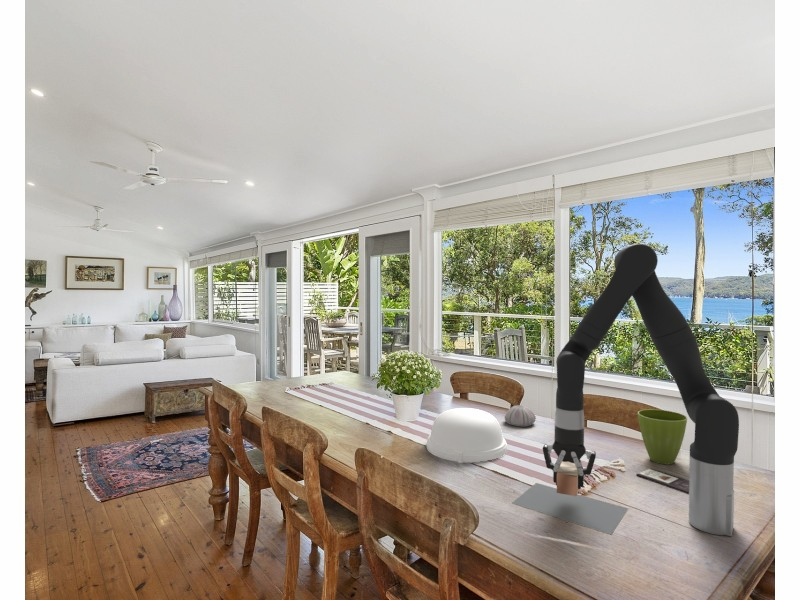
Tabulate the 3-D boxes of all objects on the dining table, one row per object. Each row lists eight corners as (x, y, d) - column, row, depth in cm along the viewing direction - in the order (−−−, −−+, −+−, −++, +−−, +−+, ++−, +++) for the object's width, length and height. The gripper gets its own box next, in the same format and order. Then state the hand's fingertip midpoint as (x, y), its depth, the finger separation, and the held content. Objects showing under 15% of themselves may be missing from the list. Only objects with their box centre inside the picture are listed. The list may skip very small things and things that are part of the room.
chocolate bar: (698, 495, 132) (636, 474, 147) (698, 498, 132) (636, 477, 147) (712, 487, 137) (651, 468, 152) (712, 491, 137) (651, 471, 152)
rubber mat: (628, 510, 124) (628, 508, 124) (611, 536, 111) (611, 534, 111) (536, 484, 141) (536, 482, 141) (511, 504, 128) (511, 503, 128)
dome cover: (435, 431, 193) (435, 398, 193) (508, 438, 185) (509, 403, 185) (417, 459, 162) (417, 420, 162) (504, 468, 154) (505, 426, 154)
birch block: (579, 461, 130) (576, 477, 119) (579, 478, 130) (576, 496, 120) (560, 458, 132) (556, 474, 121) (560, 475, 133) (556, 492, 122)
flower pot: (631, 460, 160) (632, 415, 159) (644, 449, 171) (644, 406, 170) (680, 472, 149) (681, 423, 149) (690, 459, 160) (691, 414, 160)
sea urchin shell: (524, 430, 194) (524, 411, 194) (498, 423, 204) (498, 405, 204) (541, 424, 203) (541, 406, 203) (515, 417, 213) (515, 400, 213)
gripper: (540, 424, 124) (539, 486, 125) (597, 431, 119) (596, 496, 119) (543, 417, 131) (542, 476, 132) (598, 423, 125) (597, 485, 126)
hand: (568, 485), depth 125 cm, fingers closed on birch block, 5 cm apart
